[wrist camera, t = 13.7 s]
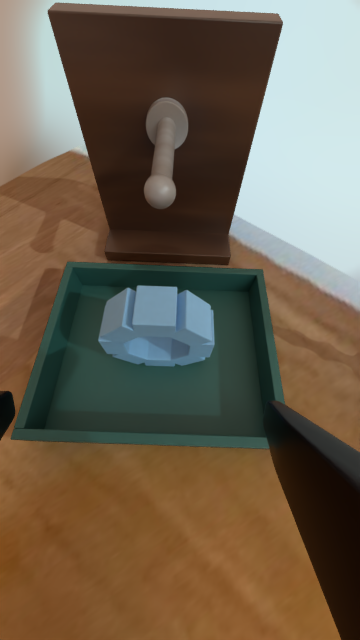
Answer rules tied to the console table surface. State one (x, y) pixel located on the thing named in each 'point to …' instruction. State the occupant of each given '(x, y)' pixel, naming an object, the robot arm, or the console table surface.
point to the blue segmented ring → (157, 327)
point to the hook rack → (166, 119)
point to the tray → (153, 381)
